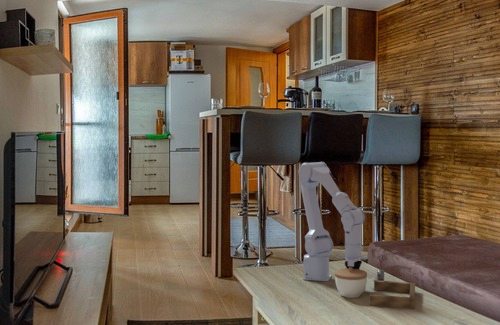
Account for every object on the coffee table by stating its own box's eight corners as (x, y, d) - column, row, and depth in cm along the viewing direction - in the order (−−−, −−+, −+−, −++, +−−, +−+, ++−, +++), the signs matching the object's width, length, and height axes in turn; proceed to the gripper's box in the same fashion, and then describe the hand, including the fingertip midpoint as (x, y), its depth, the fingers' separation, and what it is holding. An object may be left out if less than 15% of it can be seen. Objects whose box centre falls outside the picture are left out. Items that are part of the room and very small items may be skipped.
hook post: (376, 289, 173) (376, 272, 173) (377, 286, 178) (377, 269, 177) (383, 290, 172) (383, 273, 172) (384, 286, 177) (384, 270, 176)
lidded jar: (368, 291, 171) (368, 264, 171) (365, 301, 161) (365, 272, 161) (337, 289, 175) (337, 262, 175) (332, 298, 165) (332, 270, 164)
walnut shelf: (369, 304, 158) (369, 295, 158) (374, 288, 175) (374, 280, 175) (414, 308, 153) (414, 299, 153) (415, 291, 170) (415, 283, 170)
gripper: (362, 248, 166) (363, 288, 167) (366, 240, 180) (367, 277, 181) (341, 247, 169) (341, 287, 169) (347, 239, 182) (347, 275, 183)
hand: (353, 281), depth 175 cm, fingers closed
